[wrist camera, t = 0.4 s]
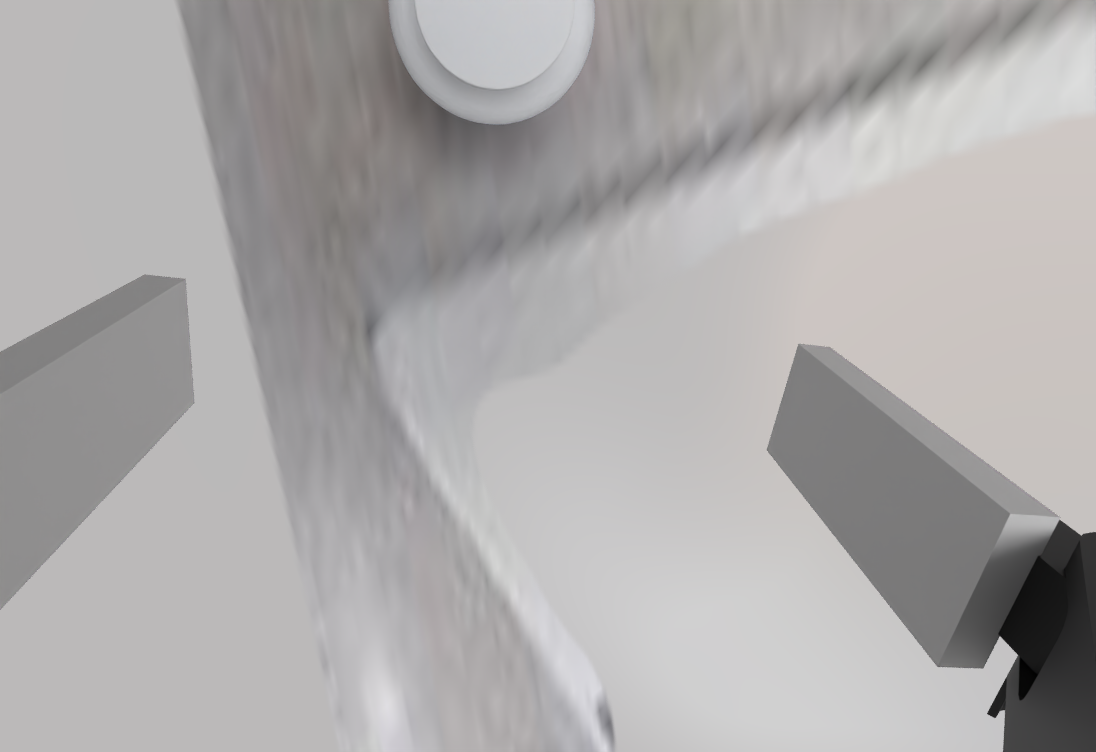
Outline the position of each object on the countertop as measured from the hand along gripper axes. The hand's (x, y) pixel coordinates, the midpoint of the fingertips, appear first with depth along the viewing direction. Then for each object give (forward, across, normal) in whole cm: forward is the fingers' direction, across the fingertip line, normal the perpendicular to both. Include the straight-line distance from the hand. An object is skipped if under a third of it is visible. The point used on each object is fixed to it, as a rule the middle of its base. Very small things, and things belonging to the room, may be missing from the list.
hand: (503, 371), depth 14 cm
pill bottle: (+27, -1, +8) cm, 28 cm away
